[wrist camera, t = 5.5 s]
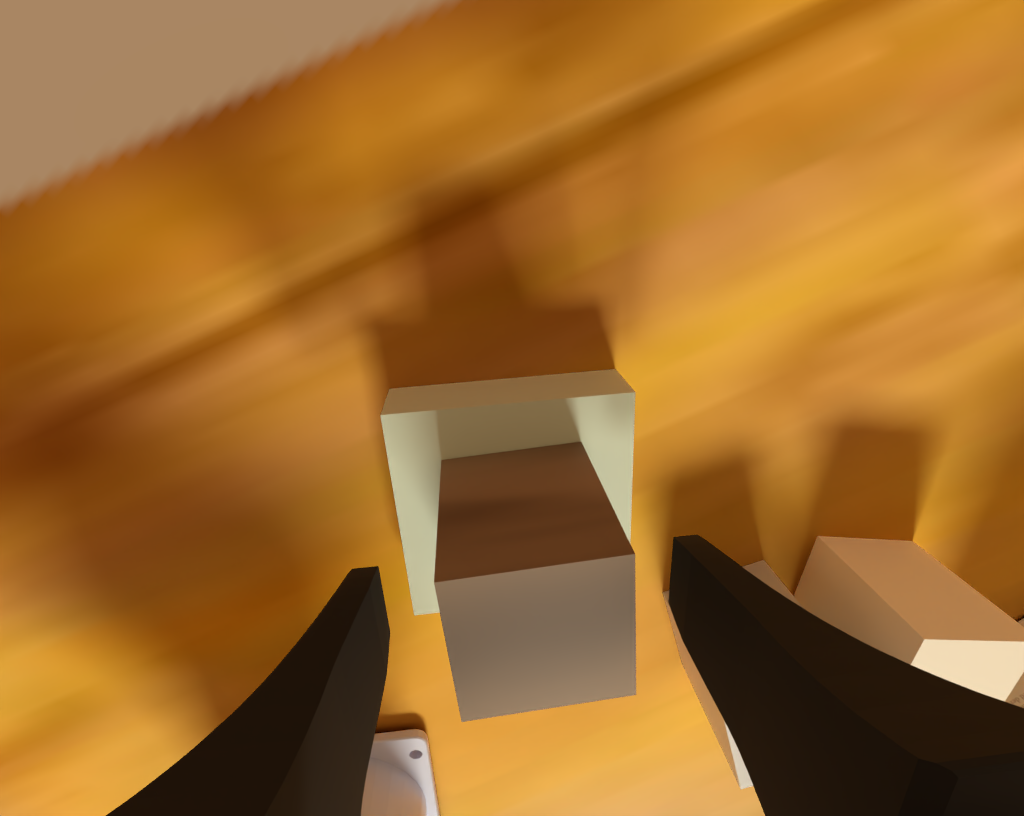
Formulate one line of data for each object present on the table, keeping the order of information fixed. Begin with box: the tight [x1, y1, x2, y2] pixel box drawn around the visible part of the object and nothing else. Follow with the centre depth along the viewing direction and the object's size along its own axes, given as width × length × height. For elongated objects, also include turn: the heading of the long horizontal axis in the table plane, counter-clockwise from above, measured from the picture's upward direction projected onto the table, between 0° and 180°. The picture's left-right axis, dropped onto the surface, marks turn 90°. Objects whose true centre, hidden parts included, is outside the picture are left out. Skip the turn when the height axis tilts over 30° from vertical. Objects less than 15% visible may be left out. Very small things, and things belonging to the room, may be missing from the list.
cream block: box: [794, 536, 1024, 701], centre depth 19 cm, size 4×4×5 cm
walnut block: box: [434, 442, 636, 722], centre depth 14 cm, size 4×4×5 cm
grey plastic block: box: [663, 560, 803, 789], centre depth 19 cm, size 4×4×5 cm
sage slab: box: [380, 369, 635, 615], centre depth 17 cm, size 7×7×2 cm
